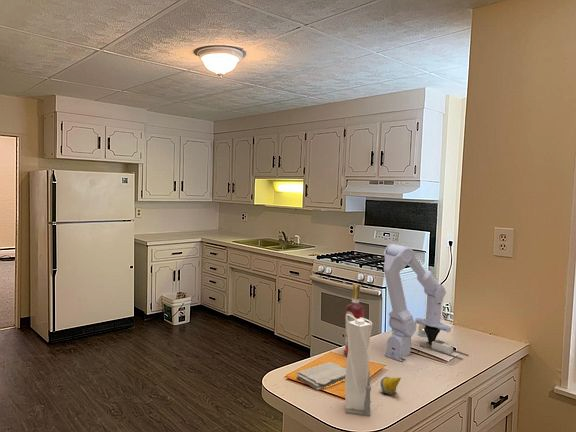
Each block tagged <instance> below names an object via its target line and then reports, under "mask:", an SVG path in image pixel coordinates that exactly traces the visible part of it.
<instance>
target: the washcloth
mask: <svg viewBox="0 0 576 432" xmlns="http://www.w3.org/2000/svg"><path fill="white" fill-rule="evenodd" d="M345 374H346V367H342V366H341V365H339V364H338V363H334V362H332V361H329V362H325V363H322V364H317V365H316V366H312V367H309V368H306V369H301V370H299V371H298V372H296V375H297V376H296V379H298V380H299V379H300V380H301V381H300V380H299V381H300V382H301V383H304V384H306V385H307V386H309V387H311V388H313V389H314V390H316V391H319V390H320V391H321V390H323V389H322V388H324V387H326V386H329V385H331V384H334V383H336V382H338V381H341V380H343V379H345Z"/></svg>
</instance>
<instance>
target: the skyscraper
mask: <svg viewBox="0 0 576 432" xmlns="http://www.w3.org/2000/svg"><path fill="white" fill-rule="evenodd" d="M347 316H351V317H352V318H354V319H355V321H351V322H348V317H347ZM346 318H347V332H348V349H349V350H348V355H346V362H345V368H346V374H345V381H344V384H345V385H344V387H345V388H344V389H345V391H344V392H345V395H344V397H345V414H351V415H356V416H357V415H358V416H363V417H364V416H366V417H371V402H372V401H371V391H372V386H371V377H370V376H371V375H370V374H371V371H370V359H369V353H368V348H369V343H370V339H371V335H372V330H373V326H374V325H373V322H372V321H371V320H370V319H367V318H365V317H364V318H362V317H360V319H356V318H355V317H354V316H352V315H350V314H346V313H345V319H346Z"/></svg>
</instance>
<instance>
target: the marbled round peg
mask: <svg viewBox="0 0 576 432" xmlns="http://www.w3.org/2000/svg"><path fill="white" fill-rule="evenodd" d="M425 326H426V325H422V324H419V323H418V333H417V334H418V335H417V336H419V337H421V338H427V335H426V332H425V330H424V327H425Z"/></svg>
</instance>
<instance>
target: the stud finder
mask: <svg viewBox="0 0 576 432" xmlns="http://www.w3.org/2000/svg"><path fill="white" fill-rule="evenodd" d="M431 348H433V349H436V350H439V351H442V352H445V353H448V354H451V353H454V352H453V350H454V344H453V343H449V342H446V341H443V340H440V339H435V341H432V346H431Z"/></svg>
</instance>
